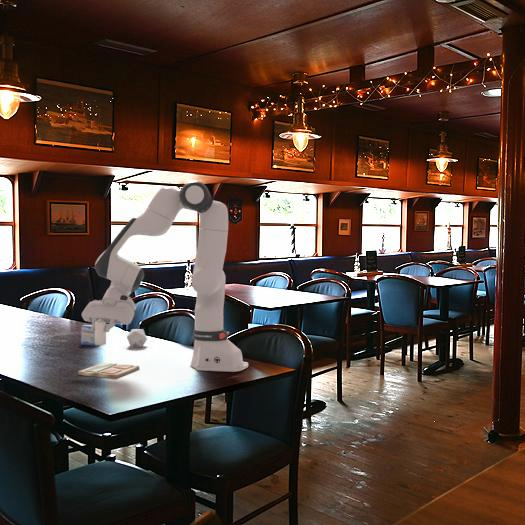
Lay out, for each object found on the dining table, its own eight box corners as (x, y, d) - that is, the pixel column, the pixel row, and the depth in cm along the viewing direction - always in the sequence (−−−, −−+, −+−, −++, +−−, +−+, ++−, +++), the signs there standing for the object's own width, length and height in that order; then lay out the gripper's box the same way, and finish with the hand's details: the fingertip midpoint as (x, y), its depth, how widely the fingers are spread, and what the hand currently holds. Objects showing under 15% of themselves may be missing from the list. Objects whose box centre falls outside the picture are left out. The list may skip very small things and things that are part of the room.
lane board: (139, 369, 238) (139, 365, 237) (116, 378, 222) (116, 374, 222) (103, 365, 243) (103, 361, 243) (77, 374, 228) (77, 370, 228)
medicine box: (81, 344, 286) (80, 325, 286) (87, 342, 290) (87, 324, 290) (95, 345, 283) (95, 326, 283) (101, 344, 287) (101, 325, 287)
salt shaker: (108, 343, 235) (108, 319, 234) (102, 345, 231) (102, 320, 230) (98, 342, 236) (99, 318, 235) (92, 344, 232) (92, 319, 232)
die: (137, 350, 276) (149, 332, 279) (121, 340, 277) (133, 322, 280) (140, 353, 284) (152, 335, 287) (124, 343, 285) (136, 326, 288)
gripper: (87, 294, 242) (72, 323, 234) (134, 297, 236) (120, 327, 227) (94, 305, 247) (79, 333, 238) (140, 308, 240) (126, 337, 231)
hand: (99, 330), depth 232 cm, fingers closed on salt shaker, 4 cm apart
